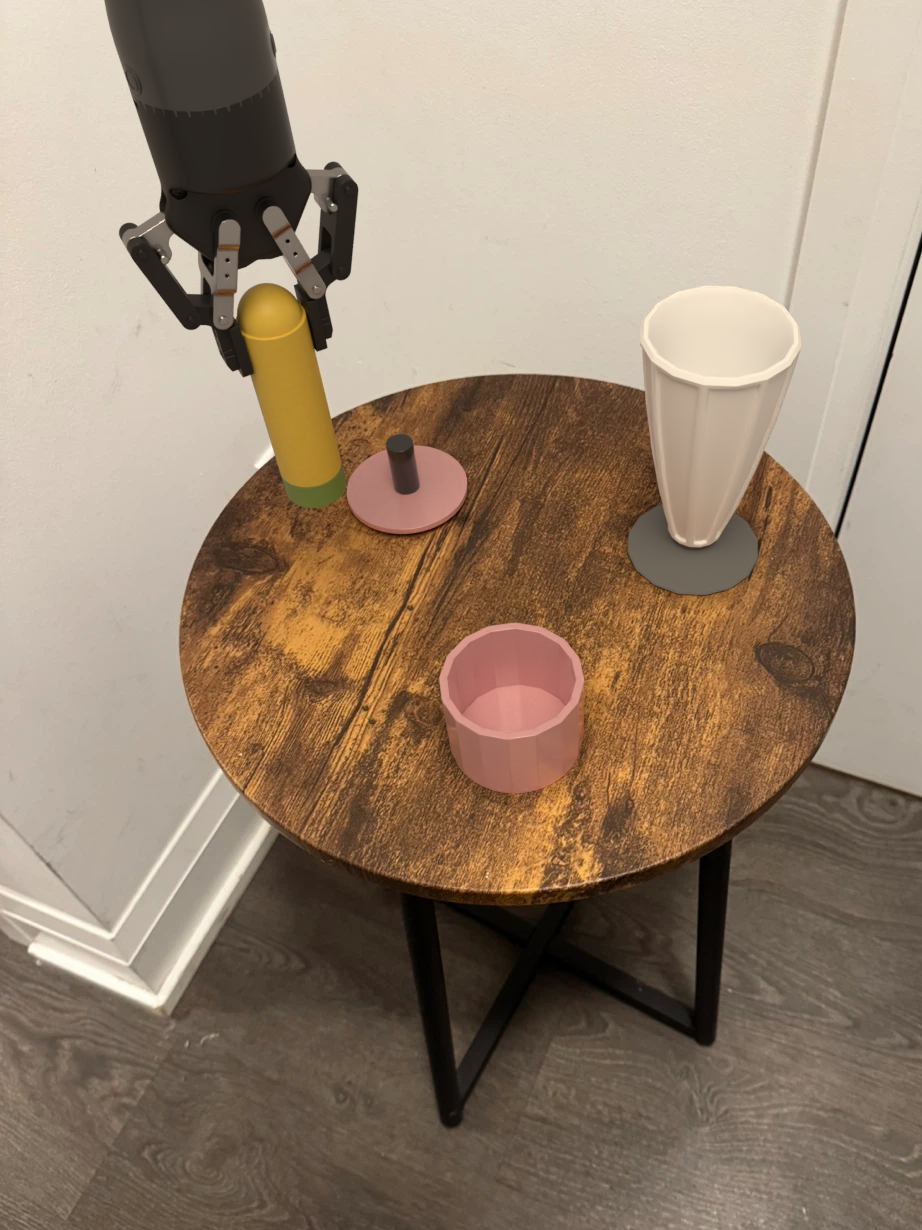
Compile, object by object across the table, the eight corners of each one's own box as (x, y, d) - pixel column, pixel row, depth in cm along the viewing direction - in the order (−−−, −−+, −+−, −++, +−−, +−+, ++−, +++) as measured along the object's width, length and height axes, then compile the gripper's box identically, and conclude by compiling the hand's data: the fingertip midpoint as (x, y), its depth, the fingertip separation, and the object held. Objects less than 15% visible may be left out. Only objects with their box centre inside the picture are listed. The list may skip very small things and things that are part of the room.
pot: (458, 803, 77) (447, 748, 70) (443, 693, 82) (433, 633, 76) (593, 782, 77) (595, 726, 71) (570, 675, 83) (569, 614, 77)
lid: (351, 546, 92) (338, 494, 87) (345, 462, 98) (333, 409, 93) (475, 530, 92) (469, 477, 87) (461, 448, 99) (455, 394, 94)
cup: (785, 564, 89) (837, 348, 71) (672, 615, 86) (696, 404, 68) (710, 484, 95) (741, 265, 77) (602, 529, 92) (608, 313, 74)
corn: (286, 512, 74) (225, 314, 61) (285, 470, 77) (226, 272, 64) (347, 504, 75) (299, 305, 61) (345, 463, 77) (298, 264, 64)
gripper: (306, 7, 56) (359, 293, 70) (43, 74, 53) (155, 361, 67) (360, 62, 52) (406, 352, 66) (81, 138, 49) (192, 428, 63)
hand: (280, 355), depth 66 cm, fingers closed on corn, 4 cm apart
